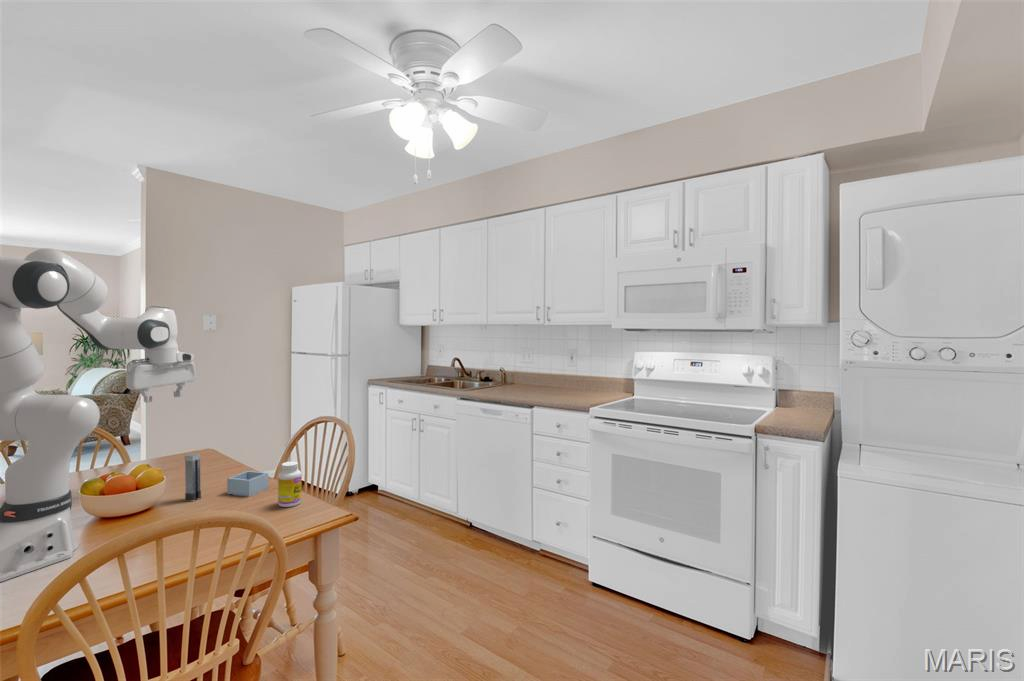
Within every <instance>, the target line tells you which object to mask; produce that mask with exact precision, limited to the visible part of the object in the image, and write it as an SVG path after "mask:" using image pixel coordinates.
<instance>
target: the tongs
mask: <svg viewBox="0 0 1024 681" xmlns="http://www.w3.org/2000/svg"><path fill="white" fill-rule="evenodd" d="M201 458H202V455H201V453H196V452H192V453H188V454H186V455H184V461H185V463H184V464H185V467H184V468H185V469H184V470H185V476H184V477H185V478H184V479H185V493H184V496H185V497H184V499H185V500H195V499H196V498H200V499H202V491H201ZM196 500H197V499H196ZM196 500H195V501H196Z"/></svg>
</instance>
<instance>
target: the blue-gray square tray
mask: <svg viewBox="0 0 1024 681" xmlns="http://www.w3.org/2000/svg"><path fill="white" fill-rule="evenodd" d="M226 482H227V483H226V485H227V488H226V489H227V495H230V494H233V495H232V496H238V497H239V496H241V497H249V498H250V497H252V496H255V495H256V494H259V493H260V492H263V491H265V490H268V489H269V472H264V471H263V472H262V471H254V470H246V471H243V472H241V473H238V474H236V475H233V476H231V477H228V478H227V479H226Z"/></svg>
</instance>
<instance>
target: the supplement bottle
mask: <svg viewBox="0 0 1024 681" xmlns="http://www.w3.org/2000/svg"><path fill="white" fill-rule="evenodd" d="M298 468H299V462H298V461H285V462H283V463H281V470H282V471H280V472H279V473H278V476H277V490H278V492H277V503H278V506H279V507H283V508H290V507H291V508H292V507H295V506H298V505H300V503H301V502H302V472H301V470H299V469H298Z"/></svg>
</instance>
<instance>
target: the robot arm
mask: <svg viewBox="0 0 1024 681" xmlns="http://www.w3.org/2000/svg"><path fill="white" fill-rule="evenodd" d="M108 295H109V287H108V285H107V284H106V282H105V281H104V280H103V279H102V277H100V276H99V275H98V274H97V273H95V272H94V271H93V270H92V269H91V268H89V267H88V266H86V265H85V264H83V263H82V262H80V261H79V260H77V259H76V258H74V257H72V256H70V255H69V254H67V253H65V252H63V251H61V250H58V249H55V248H49V247H48V248H45V247H44V248H40V249H36V250H33V251H31V252H30V253H28V254H27V255H26V257H25V258H24V259H18V258H17V259H16V258H12V257H4V256H3V257H1V256H0V441H2V442H3V441H4V442H6V441H9V442H10V441H13V442H15V441H18V442H19V441H20V442H21V441H25V442H26V441H27V443H28V446H27V450H26V452H25V454H24V456H22V457H20V458H18V459H17V460H15V461H13V462H12V463H11V464H10V465H8V467H7V468H6V470H5V472H4V487H5V490H4V492H5V496H4V497H5V501H4V502H3V503H2V505H1V507H0V583H1V582H4V581H7V580H10V579H13V578H16V577H18V576H22V575H25V574H27V573H29V572H33V571H36V570H39V569H41V568H45V567H47V566H50V565H53V564H55V563H58V562H61V561H62V562H63V561H64V560H68V559H70V558H72V556H73V555H74V554H73V552H74V551H75V550H76V549H77V548H78V547H79V546H80V543H79V540H78V539H77V536H76V533H75V530H74V525H73V521H72V513H71V510H72V506H73V500H72V499H73V496H72V495H73V494H72V490H70V466H71V465H70V463H71V460H72V456H73V453H74V451H75V449H76V447H77V446H78V445H79V444H80V443H81V442H82V440H84V439H85V438H86V437H87V436H88V435H90V434H91V433H92V432H93V431H95V429H97V428H96V427H97V426H98V425H99V422H100V418H101V413H100V408H99V406H98V405H97V403H96V402H95V401H94V400H93V399H91V398H87V397H82V396H79V395H71V394H41V393H37V392H36V391H35V389H34V386H33V385H35V384H36V383H38V382H39V381H40V379H41V378H42V377H43V376H44V373H45V371H46V366H45V363H44V362H43V359H42V358H41V356H40V354H39V352H38V349H37V347H36V345H35V343H34V341H33V340H32V337H31V336H30V334H29V332H28V331H27V329H26V327H25V326H24V325H23V323H22V319H21V311H22V309H35V310H40V309H48V308H53V307H55V306H56V307H57V309H58V310H59V311H60V313H62V314H63V315H64V316H65V317H67V318H68V319H69V320H70V321H71V322H72V323H73V324H75V325H76V326H77V327H79V328H80V329H81V330H82V331H84V333H85V334H86V335H87V337H89V339H90V340H91V342H92V343H93V345H95V346H96V348H98V349H101V350H104V351H110V350H111V351H112V350H114V351H115V350H143V351H144V358H140V359H131V361H129V362H128V363H127V364H126V375H125V387H126V388H127V389H128V390H131V391H138V390H139V393H140V395H142V397H143V402H144V403H152V402H153V396H152V395H149V393H148V392H149V389H151V388H159V387H164V386H169V385H170V386H171V385H176V387H177V388H176V389H175V391H173V397H174V398H179V397H180V398H181V397H182V395H183V394H182V391H183V390H184V388H185V387H186V386H185V385H186V383H192V382H194V381H195V379H196V378H197V372H196V365H195V362H194V360H195V356H194V353H188V352H184V351H180V350H179V345H178V342H177V338H178V334H179V333H178V332H179V331H178V330H179V329H178V322H177V321H178V319H177V315H176V313H175V310H173V309H172V308H170V307H165V306H155V305H154V306H148V307H146V308H145V310H144V312H143V313H142V314H141V315H139V316H137V317H115V316H107V315H103V314H101V313H100V312H99V311H98V310H99V309H100V308H101V307H103V305H104V304H105V303H106V301H107V300H108V297H109V296H108Z"/></svg>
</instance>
